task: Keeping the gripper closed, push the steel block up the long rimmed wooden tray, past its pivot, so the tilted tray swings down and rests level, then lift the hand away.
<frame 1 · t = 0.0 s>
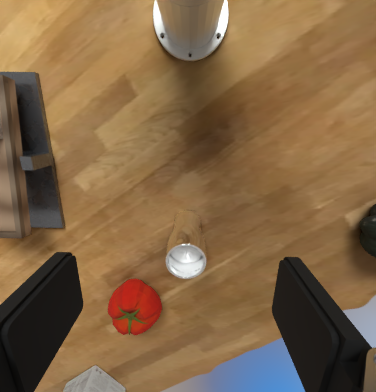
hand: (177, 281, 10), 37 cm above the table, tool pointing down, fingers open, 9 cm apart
pivot stand: (19, 157, 45), on the table
tomato: (139, 292, 56), on the table
beer glass: (187, 221, 50), on the table
supplement box: (96, 384, 67), on the table
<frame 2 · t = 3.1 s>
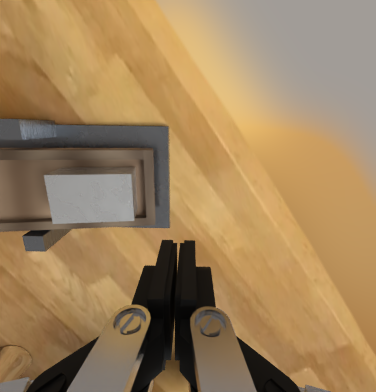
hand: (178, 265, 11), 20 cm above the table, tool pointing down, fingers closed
steel block: (101, 188, 26), point 5 cm above the table, tilted 8°, touching long rimmed wooden tray
pivot stand: (59, 177, 31), on the table
long rimmed wooden tray: (28, 189, 25), point 6 cm above the table, hinge at -8.3°, touching steel block
beer glass: (16, 356, 42), on the table
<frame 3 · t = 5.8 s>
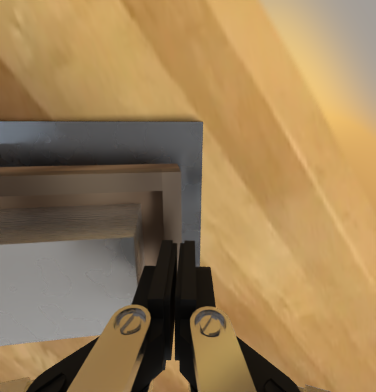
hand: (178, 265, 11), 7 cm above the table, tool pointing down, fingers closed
steel block: (74, 245, 13), point 5 cm above the table, tilted 8°, touching gripper, long rimmed wooden tray
pivot stand: (13, 210, 18), on the table
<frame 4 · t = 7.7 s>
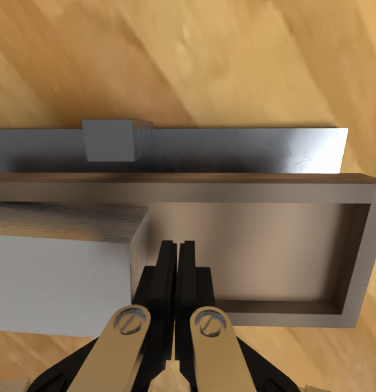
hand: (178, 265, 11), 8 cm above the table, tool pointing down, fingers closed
steel block: (82, 241, 13), point 6 cm above the table, touching gripper, long rimmed wooden tray
pivot stand: (145, 211, 19), on the table
long rimmed wooden tray: (125, 249, 13), point 6 cm above the table, hinge at 0.5°, touching steel block
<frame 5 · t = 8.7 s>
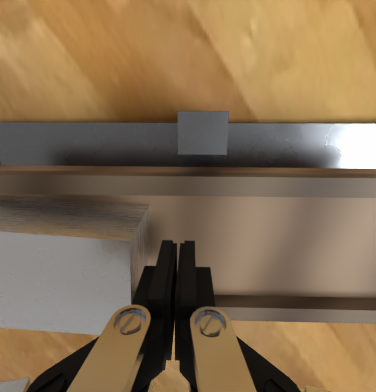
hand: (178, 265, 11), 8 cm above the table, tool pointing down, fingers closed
steel block: (82, 239, 13), point 6 cm above the table, touching gripper, long rimmed wooden tray
pivot stand: (196, 207, 19), on the table
long rimmed wooden tray: (199, 244, 13), point 6 cm above the table, hinge at 0.5°, touching steel block
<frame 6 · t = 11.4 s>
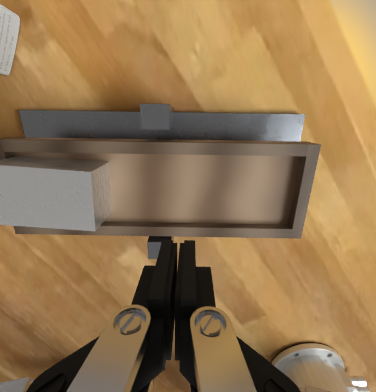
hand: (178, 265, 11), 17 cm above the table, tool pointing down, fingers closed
steel block: (68, 184, 21), point 6 cm above the table, touching long rimmed wooden tray
pivot stand: (164, 173, 27), on the table
long rimmed wooden tray: (158, 188, 21), point 6 cm above the table, hinge at 0.5°, touching steel block
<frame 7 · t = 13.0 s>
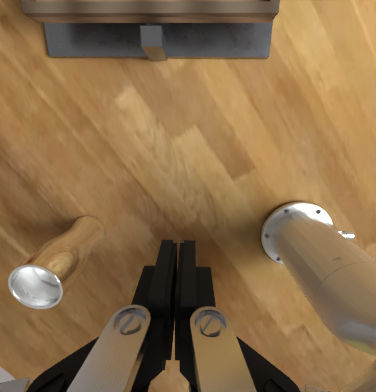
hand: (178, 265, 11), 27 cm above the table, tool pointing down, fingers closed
beer glass: (89, 230, 41), on the table
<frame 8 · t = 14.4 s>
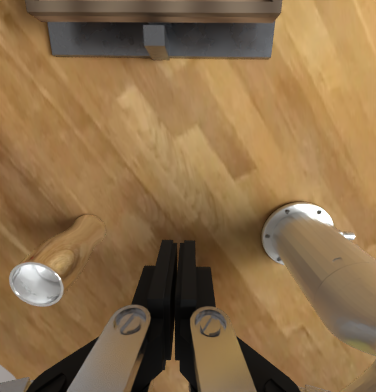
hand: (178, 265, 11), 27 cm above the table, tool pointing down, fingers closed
beer glass: (90, 228, 41), on the table
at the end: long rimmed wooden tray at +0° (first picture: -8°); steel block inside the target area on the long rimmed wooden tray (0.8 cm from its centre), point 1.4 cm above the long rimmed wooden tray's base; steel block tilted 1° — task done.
